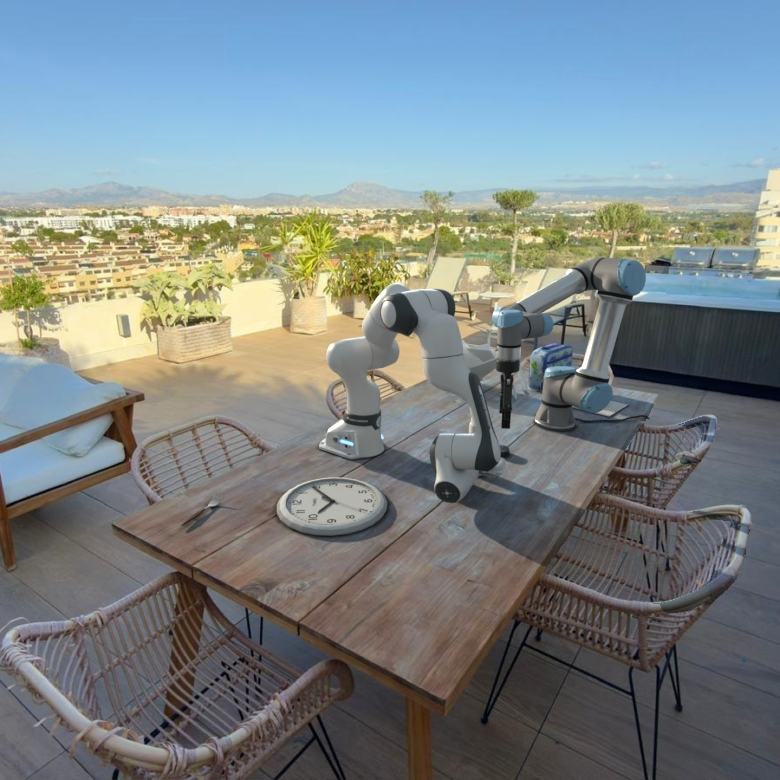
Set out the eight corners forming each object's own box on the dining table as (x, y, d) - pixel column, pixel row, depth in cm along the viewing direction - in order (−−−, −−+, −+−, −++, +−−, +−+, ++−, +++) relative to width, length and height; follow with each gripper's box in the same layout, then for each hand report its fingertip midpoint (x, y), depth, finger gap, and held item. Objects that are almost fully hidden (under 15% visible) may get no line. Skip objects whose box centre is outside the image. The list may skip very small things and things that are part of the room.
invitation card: (608, 416, 214) (573, 407, 224) (608, 416, 214) (573, 408, 224) (628, 404, 229) (594, 396, 238) (628, 405, 229) (594, 397, 238)
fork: (176, 526, 131) (176, 519, 130) (217, 497, 145) (217, 491, 145) (185, 528, 130) (184, 521, 130) (225, 499, 145) (224, 492, 144)
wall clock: (392, 527, 129) (268, 531, 127) (391, 533, 130) (269, 537, 127) (383, 473, 158) (282, 475, 155) (383, 478, 158) (282, 480, 156)
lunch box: (544, 395, 239) (549, 351, 233) (524, 390, 247) (528, 347, 240) (571, 384, 257) (577, 343, 251) (552, 380, 264) (556, 339, 258)
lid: (494, 458, 174) (495, 452, 173) (486, 450, 180) (487, 445, 179) (512, 456, 175) (512, 451, 174) (503, 449, 181) (504, 443, 180)
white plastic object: (461, 429, 252) (437, 405, 227) (444, 352, 274) (420, 323, 250) (535, 404, 240) (518, 377, 215) (510, 326, 262) (492, 293, 237)
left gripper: (501, 466, 145) (511, 448, 158) (431, 452, 153) (446, 436, 166) (499, 486, 147) (509, 467, 159) (431, 472, 155) (446, 454, 167)
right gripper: (494, 349, 180) (491, 407, 186) (497, 369, 156) (494, 434, 163) (517, 349, 179) (513, 408, 185) (523, 369, 155) (518, 435, 162)
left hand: (477, 451), depth 163 cm, fingers closed on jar, 5 cm apart
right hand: (504, 420), depth 174 cm, fingers open, 13 cm apart
